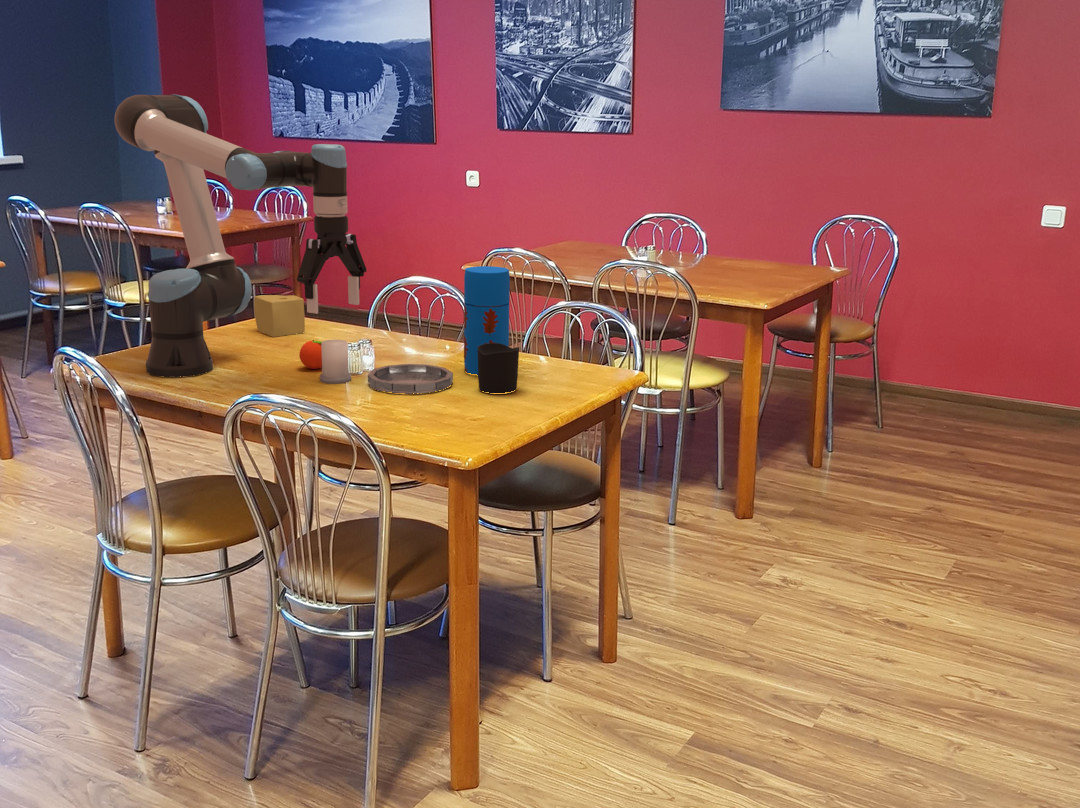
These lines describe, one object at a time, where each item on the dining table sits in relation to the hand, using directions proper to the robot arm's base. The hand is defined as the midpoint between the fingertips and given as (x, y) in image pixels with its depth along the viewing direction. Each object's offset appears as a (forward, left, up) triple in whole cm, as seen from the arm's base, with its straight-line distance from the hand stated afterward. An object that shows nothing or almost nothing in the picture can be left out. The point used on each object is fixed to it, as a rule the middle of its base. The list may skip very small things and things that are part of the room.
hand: (333, 308), depth 252 cm
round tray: (+8, -16, -17) cm, 25 cm away
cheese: (+29, +48, -17) cm, 58 cm away
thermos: (+28, -23, -17) cm, 40 cm away
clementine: (+5, +11, -17) cm, 21 cm away
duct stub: (0, 0, -17) cm, 17 cm away
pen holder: (+16, -35, -17) cm, 42 cm away
